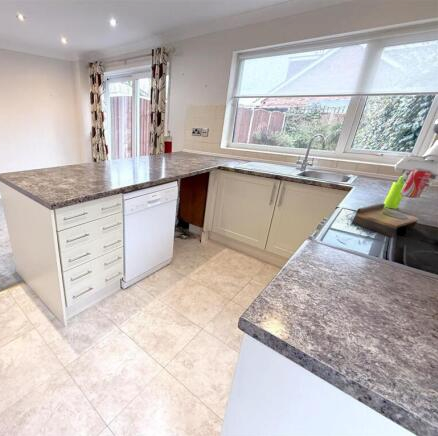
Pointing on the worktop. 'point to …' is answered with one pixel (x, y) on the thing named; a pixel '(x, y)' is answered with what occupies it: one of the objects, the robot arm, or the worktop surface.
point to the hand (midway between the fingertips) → (415, 182)
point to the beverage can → (415, 183)
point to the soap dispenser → (394, 194)
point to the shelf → (383, 219)
